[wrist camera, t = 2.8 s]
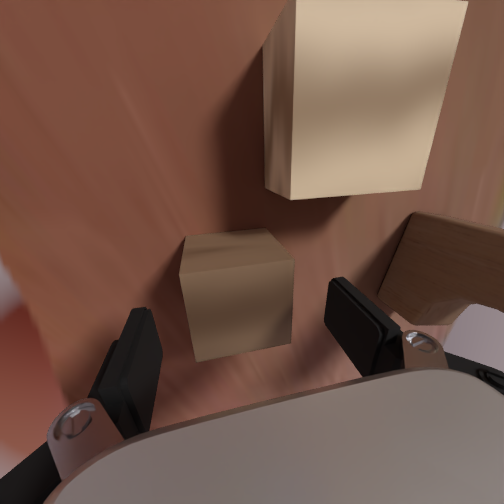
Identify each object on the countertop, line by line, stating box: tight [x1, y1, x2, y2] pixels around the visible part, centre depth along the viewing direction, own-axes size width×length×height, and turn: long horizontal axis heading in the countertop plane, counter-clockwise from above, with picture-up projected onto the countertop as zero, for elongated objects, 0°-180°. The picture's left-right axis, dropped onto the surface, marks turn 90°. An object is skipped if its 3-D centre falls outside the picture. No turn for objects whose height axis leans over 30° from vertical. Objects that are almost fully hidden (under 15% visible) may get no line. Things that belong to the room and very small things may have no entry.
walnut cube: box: [179, 228, 295, 363], centre depth 15 cm, size 6×6×6 cm
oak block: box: [263, 0, 468, 200], centre depth 13 cm, size 8×8×5 cm
